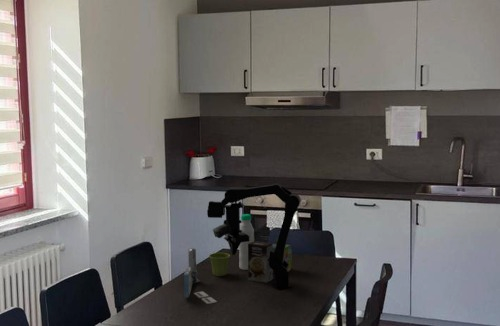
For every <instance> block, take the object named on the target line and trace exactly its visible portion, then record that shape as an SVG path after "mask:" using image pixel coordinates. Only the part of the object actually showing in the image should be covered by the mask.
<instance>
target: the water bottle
mask: <svg viewBox="0 0 500 326" xmlns="http://www.w3.org/2000/svg"><path fill="white" fill-rule="evenodd" d="M240 220H241V221H242V223H240V230H242V233H245V234H247V235H248V236H249V241H247V242H241V243H240V245H239V247H238V251H239V255H238V259H239V261H238V262H239V263H238V265H239V266H238V267H239V269H241V270H243V271H248V244H249V243H251V242H254V241H255V229H254V227H253V224H252V222H251V221H252V214H250V213H243V214H241V216H240Z"/></svg>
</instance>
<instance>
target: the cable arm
mask: <svg viewBox="0 0 500 326" xmlns="http://www.w3.org/2000/svg"><path fill="white" fill-rule="evenodd" d="M193 281H194V277H191V267H189V266H187V267H186V269H185V271H184V273H183V284H184V285H183V287H184V292H183V293H184V298H190V294H191V292H192V287H193V284H194V283H193Z"/></svg>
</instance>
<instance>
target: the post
mask: <svg viewBox="0 0 500 326" xmlns="http://www.w3.org/2000/svg"><path fill="white" fill-rule="evenodd" d="M187 251H188V252H187V253H188V256H187V258H188V267H191V277H194V281H193V284H197V283H198V284H199V283H201V280H200V279H198V278H197V276H199V272H198V271H197V249H196V248H189V249H188V250H187Z"/></svg>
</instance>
